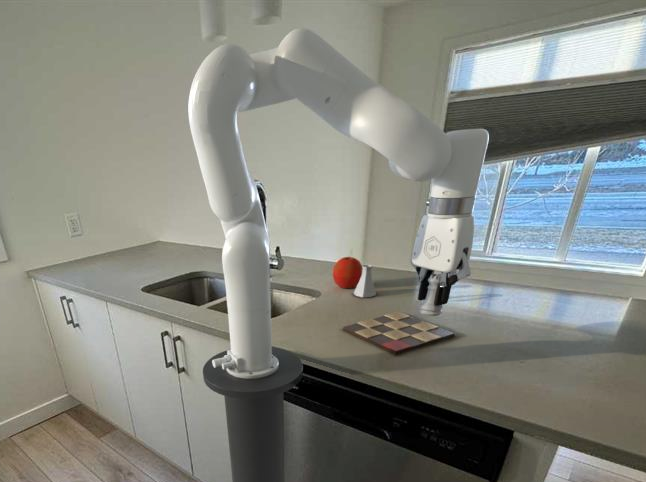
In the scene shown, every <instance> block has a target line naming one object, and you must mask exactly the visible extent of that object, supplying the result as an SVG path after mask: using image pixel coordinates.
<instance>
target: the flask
mask: <svg viewBox="0 0 646 482" xmlns="http://www.w3.org/2000/svg"><path fill="white" fill-rule="evenodd" d="M373 267H374V265H372V264H364V265H362V275H361V278H360V281H359V283H358V284H357V285H356V286H355V289H354V291H353V294H354V296H355V297H360V298H371V297H374V296H377V291H376V288H375V285H374V281H373V278H372V269H373Z"/></svg>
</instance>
